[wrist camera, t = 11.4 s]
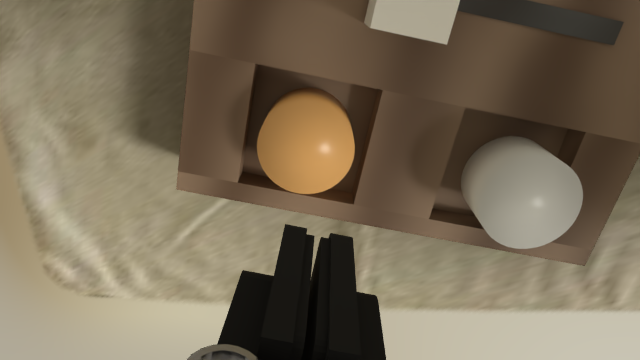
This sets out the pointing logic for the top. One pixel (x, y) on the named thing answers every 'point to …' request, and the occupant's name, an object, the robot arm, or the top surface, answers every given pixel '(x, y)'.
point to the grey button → (521, 192)
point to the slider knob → (413, 18)
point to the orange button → (306, 141)
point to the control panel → (418, 106)
